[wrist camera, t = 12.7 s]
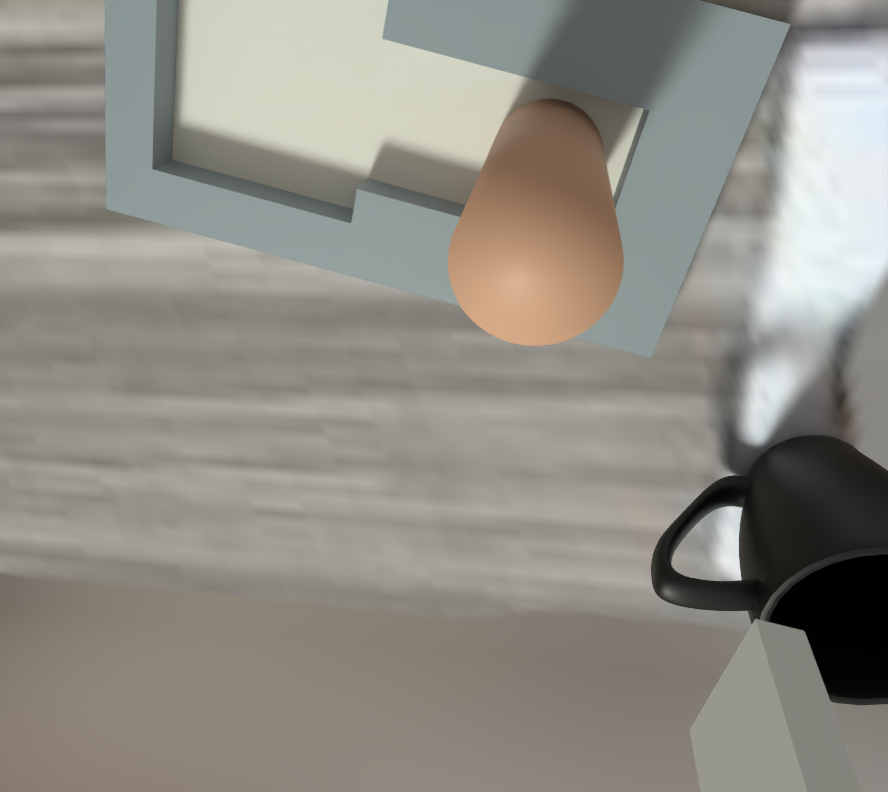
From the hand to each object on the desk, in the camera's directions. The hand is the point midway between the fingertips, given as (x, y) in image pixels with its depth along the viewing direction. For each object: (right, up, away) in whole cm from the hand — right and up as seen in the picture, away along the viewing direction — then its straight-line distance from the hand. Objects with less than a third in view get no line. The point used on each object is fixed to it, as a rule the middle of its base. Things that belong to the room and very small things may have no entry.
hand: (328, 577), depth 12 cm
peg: (+6, +12, +18) cm, 23 cm away
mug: (+17, -1, +25) cm, 30 cm away
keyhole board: (+1, +14, +19) cm, 24 cm away
